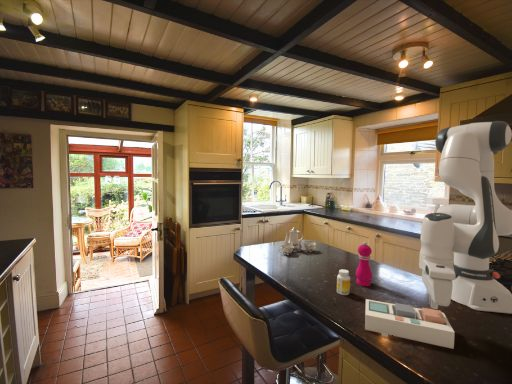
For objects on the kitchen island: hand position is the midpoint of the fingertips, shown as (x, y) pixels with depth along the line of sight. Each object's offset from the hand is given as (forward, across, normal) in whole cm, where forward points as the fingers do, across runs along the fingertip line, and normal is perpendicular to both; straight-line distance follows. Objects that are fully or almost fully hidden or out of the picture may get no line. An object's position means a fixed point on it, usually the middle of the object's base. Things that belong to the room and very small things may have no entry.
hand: (433, 306), depth 84 cm
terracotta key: (+5, 0, 0) cm, 5 cm away
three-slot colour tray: (+9, +1, -8) cm, 12 cm away
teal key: (+7, 0, -16) cm, 17 cm away
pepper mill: (+9, -33, -21) cm, 40 cm away
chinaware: (+9, -72, -63) cm, 96 cm away
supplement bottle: (+9, -19, -29) cm, 36 cm away
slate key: (+5, 0, -8) cm, 9 cm away
